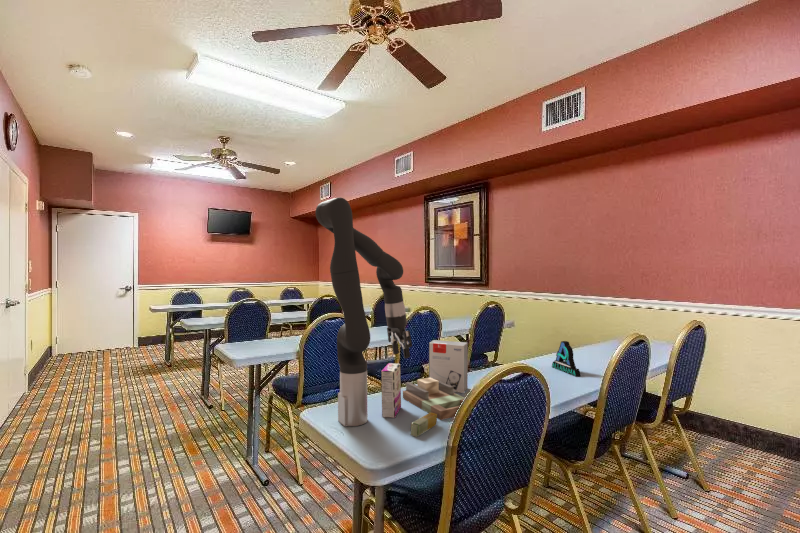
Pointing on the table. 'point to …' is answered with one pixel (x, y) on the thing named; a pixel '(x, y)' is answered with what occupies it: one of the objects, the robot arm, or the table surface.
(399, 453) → the table surface
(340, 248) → the robot arm
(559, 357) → the decorative sign
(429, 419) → the medication box
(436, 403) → the corridor deck
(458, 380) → the hard drive box
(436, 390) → the ash block
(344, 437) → the table surface
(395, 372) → the candy bar box
